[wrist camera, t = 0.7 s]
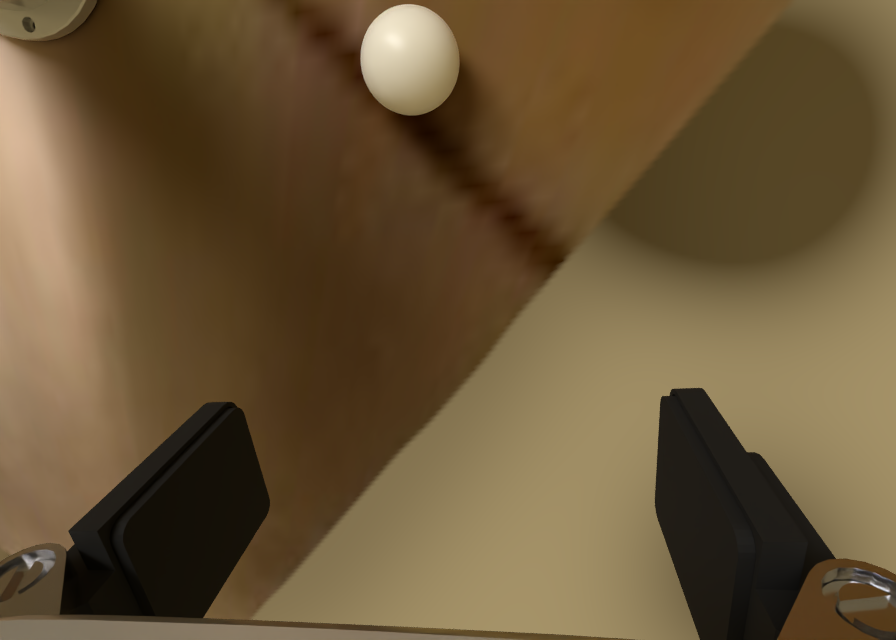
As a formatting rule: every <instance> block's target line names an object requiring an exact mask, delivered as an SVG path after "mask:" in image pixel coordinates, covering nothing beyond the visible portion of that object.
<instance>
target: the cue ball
mask: <svg viewBox="0 0 896 640" xmlns="http://www.w3.org/2000/svg"><path fill="white" fill-rule="evenodd" d="M459 67H460V58H459V50H458V46H457V43H456V40H455V37H454V35H453V33H452V31H451V29H450V28H449V26H448V25H447V24H446V22H445V21H444V20H443V19H442V18H441V17H440V16H439V15H437V14H436V13H434V12H433V11H431V10H429V9H427V8H425V7H422V6H419V5H413V4H404V5H398V6H395V7H392V8H390V9H388V10H386V11H384V12H383V13H381V14H380V15H379V16H378V17H377V18H376V19H375V20H374V21H373V22H372V24H371V25H370V27H369V28H368V30H367V32H366V34H365V37H364V40H363V43H362V48H361V68H362V73H363V77H364V80H365V82H366V85H367V86H368V88H369V90H370V92H371V93H372V94H373V96H374V97H375V98H376V99H377V100H378V101H379V102H380V103H381V104H382V105H383V106H384V107H386V108H388V109H389V110H391V111H393V112H396V113H399V114H402V115H421V114H425V113H428V112H430V111H432V110H434V109H436V108H437V107H439V106H440V105H441V104H442V103H443V102H444V101H445V100H446V99H447V98H448V96H449V95H450V94H451V92H452V90H453V88H454V86H455V84H456V81H457V78H458V74H459Z"/></svg>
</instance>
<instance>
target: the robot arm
mask: <svg viewBox="0 0 896 640" xmlns="http://www.w3.org/2000/svg"><path fill="white" fill-rule="evenodd" d="M96 2H97V0H0V34H1V35H4V36H7V37H12V38H17V39H22V40H30V41H47V40H53V39H58V38H60V37H63V36H65V35H67V34H69V33H71V32H73V31H74V30H75V29H76V28H77V27H79V26H80V25H81V24H82V23H83V22H84V21H85V20H86V19H87V17H88V16H89V14H90V13H91V12H92V10H93V9H94V7H95V5H96ZM269 506H270V499H269V495H268V492H267V488H266V485H265V482H264V478H263V475H262V472H261V468H260V465H259V462H258V458H257V455H256V452H255V448H254V445H253V442H252V438H251V435H250V432H249V428H248V425H247V422H246V418H245V415H244V412H243V411H242V409H240V408H237V406H236V405H235V404H234V403H232V402H210V403H206V404H205V405H203V406H202V407H201V408H200V409H199V410H198V411H197V412H196V413H195V414H193V415H192V416H191V417H190V418H189V419H188V420H187V421H186V422H185V423H184V424H183V425H182V426H181V427H179V428H178V429H177V430H176V431H175V432H174V433H173V434H172V435H171V436H170V437H169V438H168V439H167V440H165V441H164V442H163V443H162V444H161V445H160V446H159V447H158V448H157V449H156V450H155V451H154V452H153V453H151V454H150V455H149V456H148V457H147V458H146V459H145V460H144V461H143V462H142V463H141V464H140V465H139V466H138V467H136V468H135V469H134V470H133V471H132V472H131V473H130V474H129V475H128V476H127V477H126V478H125V479H124V480H122V481H121V482H120V483H119V484H118V485H117V486H116V487H115V488H114V489H113V490H112V491H111V492H110V493H108V494H107V495H106V496H105V497H104V498H103V499H102V500H101V501H100V502H99V503H98V504H97V505H96V506H94V507H93V508H92V509H91V510H90V511H89V512H88V513H87V514H86V515H85V516H84V517H83V518H82V519H80V520H79V521H78V522H77V523H76V524H75V525H74V526H73V527H72V528H71V529H70V530H69V533H70V535H71V537H72V539H73V541H74V543H75V544H74V545H73V546H72V547H71V548H70V549H69V550H68V551H66V549H65V548H64V547H63V546H61V545H60V544H55V543H46V544H40V545H35V546H32V547H29V548H26V549H23V550H21V551H19V552H17V553H15V554H13V555H11V556H8V557H7V558H5V559H3V560H2V561H1V562H0V640H632V639H618V638H601V637H587V636H573V635H556V634H537V633H536V634H535V633H515V632H497V631H475V630H457V629H436V628H418V627H416V628H415V627H395V626H374V625H373V626H372V625H352V624H329V623H306V622H283V621H259V620H234V619H208V618H203V617H204V615H205V614H206V612H207V611H208V609H209V607H210V606H211V604H212V603H213V601H214V599H215V598H216V596H217V595H218V593H219V591H220V590H221V588H222V587H223V585H224V583H225V582H226V580H227V578H228V577H229V575H230V574H231V572H232V570H233V569H234V567H235V566H236V564H237V562H238V561H239V559H240V558H241V556H242V554H243V553H244V551H245V550H246V548H247V546H248V545H249V543H250V542H251V540H252V538H253V537H254V535H255V533H256V532H257V530H258V529H259V527H260V525H261V524H262V522H263V521H264V519H265V517H266V516H267V514H268V511H269ZM655 508H656V513H657V518H658V521H659V524H660V527H661V530H662V532H663V535H664V538H665V541H666V544H667V547H668V549H669V552H670V555H671V558H672V561H673V564H674V567H675V569H676V572H677V575H678V578H679V581H680V584H681V587H682V589H683V592H684V595H685V598H686V601H687V604H688V607H689V609H690V612H691V615H692V618H693V621H694V624H695V626H696V629H697V632H698V635H699V638H700V640H896V575H895V574H893V573H892V572H890V571H888V570H886V569H883V568H881V567H878V566H875V565H872V564H869V563H866V562H862V561H856V560H850V559H836V558H835V557H834V555H833V554H832V553H831V551H830V550H829V549H828V547H827V546H826V545H825V543H824V542H823V540H822V539H821V537H820V536H819V535H818V534H817V532H816V530H815V529H814V528H813V526H812V525H811V524H810V522H809V521H808V519H807V518H806V517H805V515H804V514H803V513H802V511H801V510H800V508H799V507H798V505H797V504H796V503H795V501H794V500H793V499H792V497H791V496H790V494H789V493H788V492H787V490H786V489H785V487H784V486H783V485H782V483H781V482H780V481H779V479H778V478H777V476H776V475H775V474H774V472H773V471H772V469H771V468H770V467H769V465H768V464H767V462H766V461H765V460H764V459H763V458H762V456H761V455H760V454H757V453H755V452H753V453H752V452H750V453H748V452H746V451H745V449H744V448H743V446H742V445H741V443H740V442H739V440H738V439H737V437H736V436H735V434H734V433H733V432H732V430H731V429H730V427H729V426H728V424H727V423H726V421H725V420H724V418H723V417H722V415H721V414H720V413H719V411H718V410H717V408H716V407H715V405H714V404H713V402H712V401H711V399H710V398H709V396H708V395H707V394H706V392H705V391H704V390H703V389H702V388H686V389H672V390H671V392H670V396H662V397H661V402H660V419H659V436H658V455H657V473H656V490H655Z"/></svg>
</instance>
